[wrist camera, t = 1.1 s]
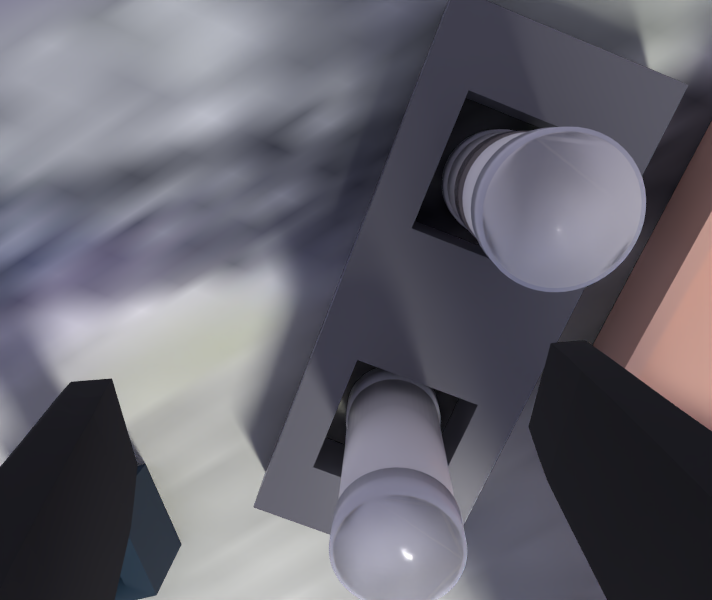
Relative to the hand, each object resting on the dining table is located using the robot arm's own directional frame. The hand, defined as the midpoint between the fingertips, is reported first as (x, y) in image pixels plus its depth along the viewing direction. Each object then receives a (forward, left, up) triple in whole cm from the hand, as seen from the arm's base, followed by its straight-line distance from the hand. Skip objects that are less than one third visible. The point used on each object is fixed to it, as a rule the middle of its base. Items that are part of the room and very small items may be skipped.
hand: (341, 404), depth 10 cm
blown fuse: (-3, -4, -14) cm, 15 cm away
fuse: (-4, +6, -14) cm, 15 cm away
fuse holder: (-3, +1, -14) cm, 14 cm away
